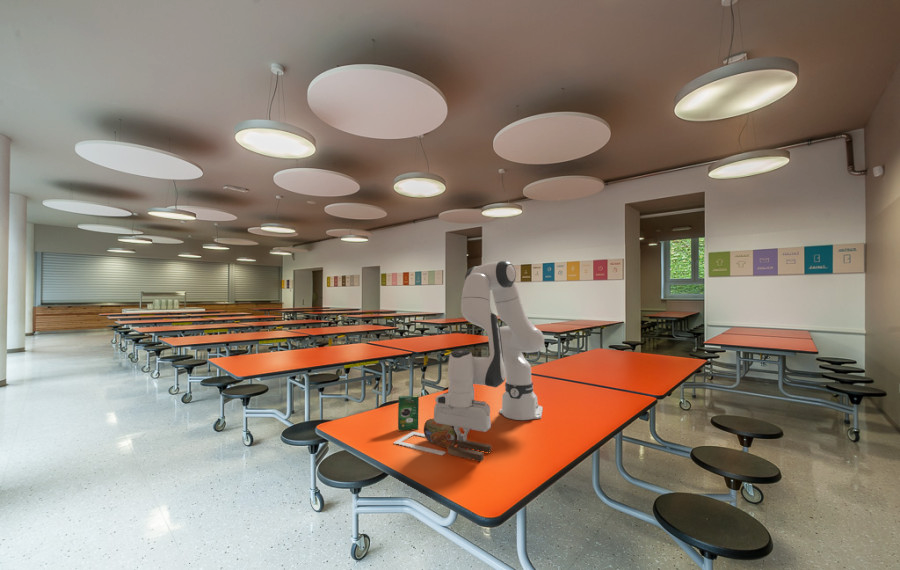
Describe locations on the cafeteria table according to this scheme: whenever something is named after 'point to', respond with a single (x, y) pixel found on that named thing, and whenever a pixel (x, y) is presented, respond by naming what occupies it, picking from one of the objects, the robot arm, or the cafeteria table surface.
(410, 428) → the coffee box
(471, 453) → the dark brown parallel bars
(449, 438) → the tin
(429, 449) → the frame
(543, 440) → the cafeteria table surface
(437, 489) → the cafeteria table surface
